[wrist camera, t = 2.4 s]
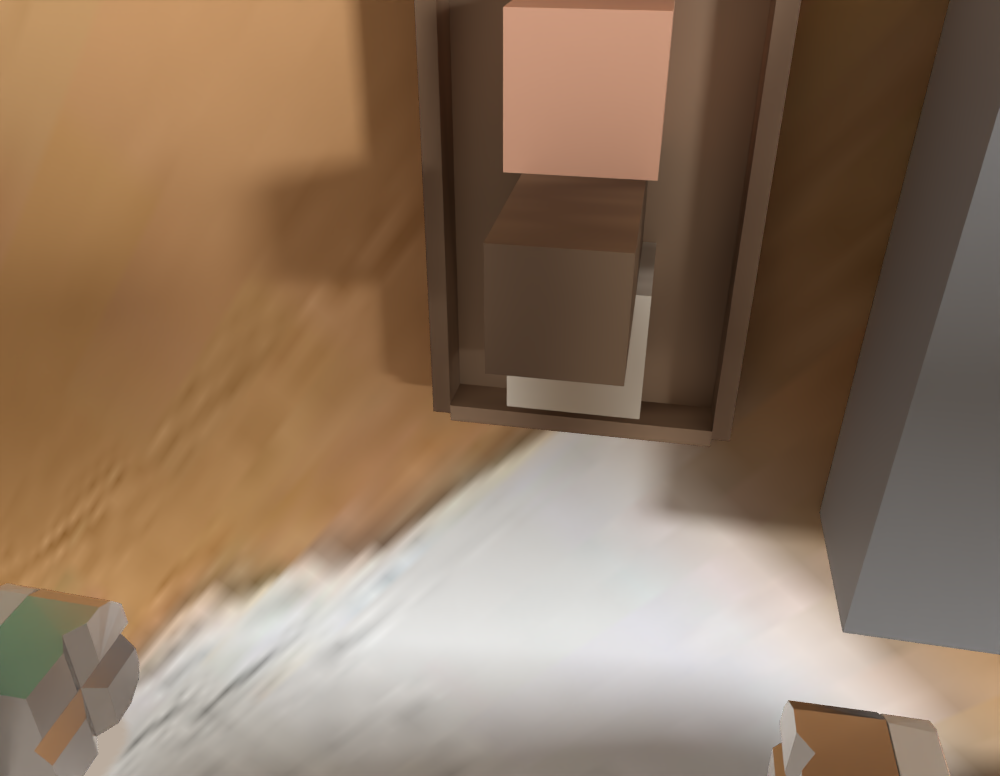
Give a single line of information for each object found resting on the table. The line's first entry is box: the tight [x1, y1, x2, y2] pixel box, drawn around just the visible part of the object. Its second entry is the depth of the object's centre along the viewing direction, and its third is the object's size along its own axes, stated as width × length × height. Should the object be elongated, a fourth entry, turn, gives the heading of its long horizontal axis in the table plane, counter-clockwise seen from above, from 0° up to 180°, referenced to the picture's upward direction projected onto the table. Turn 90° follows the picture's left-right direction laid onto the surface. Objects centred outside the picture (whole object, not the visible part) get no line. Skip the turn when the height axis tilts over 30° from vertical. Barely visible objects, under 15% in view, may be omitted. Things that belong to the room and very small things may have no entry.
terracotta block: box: [503, 0, 675, 181], centre depth 23 cm, size 4×4×4 cm
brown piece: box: [414, 0, 801, 447], centre depth 24 cm, size 10×16×10 cm, turn 0°
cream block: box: [507, 242, 656, 419], centre depth 27 cm, size 4×4×4 cm
